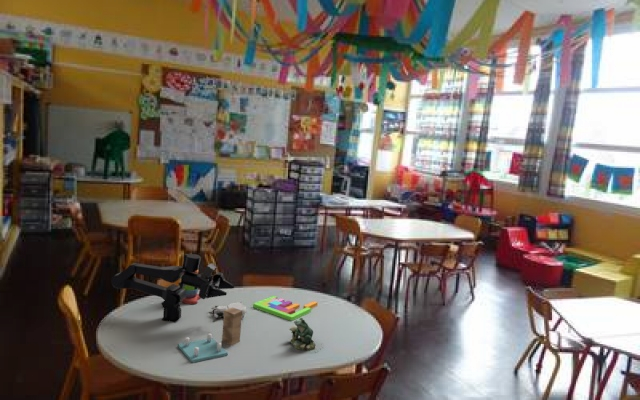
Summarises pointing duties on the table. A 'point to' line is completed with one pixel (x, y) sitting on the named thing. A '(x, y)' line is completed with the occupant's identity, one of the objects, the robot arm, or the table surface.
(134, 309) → the table surface
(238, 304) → the robot toy
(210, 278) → the robot arm
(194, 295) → the stacking bear
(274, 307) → the toy blocks
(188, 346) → the peg plate
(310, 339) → the frog figurine
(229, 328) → the walnut pillar
